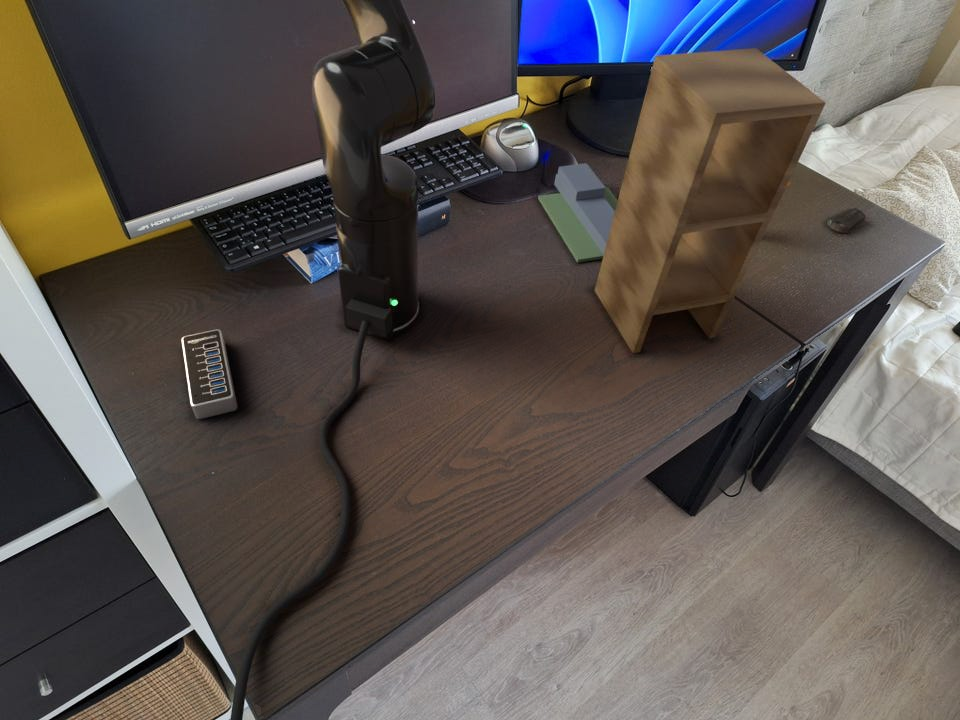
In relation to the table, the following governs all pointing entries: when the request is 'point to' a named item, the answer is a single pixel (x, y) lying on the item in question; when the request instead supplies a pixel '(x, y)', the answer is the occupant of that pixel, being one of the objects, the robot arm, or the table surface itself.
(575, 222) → the mat
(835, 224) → the dark grey rounded device
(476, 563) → the table surface
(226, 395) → the multiport hub
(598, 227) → the grey stepped plank
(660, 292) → the open shelf unit
